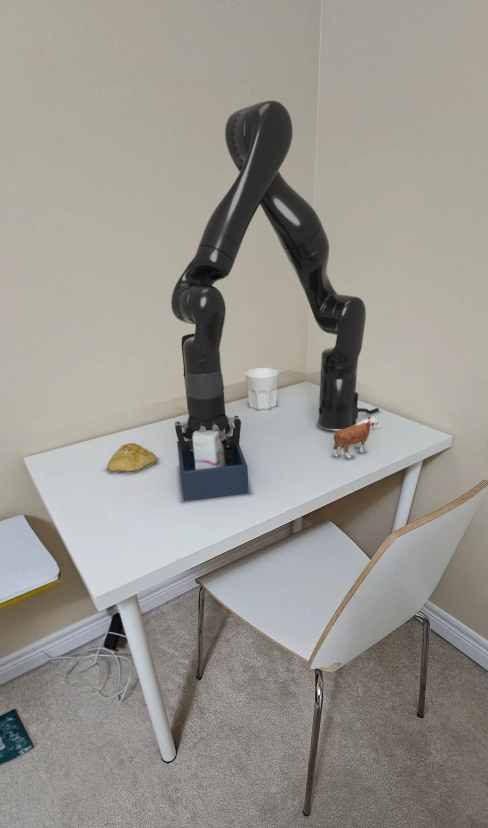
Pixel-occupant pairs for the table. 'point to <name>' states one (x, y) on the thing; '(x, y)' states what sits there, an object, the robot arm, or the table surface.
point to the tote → (213, 477)
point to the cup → (262, 387)
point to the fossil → (131, 459)
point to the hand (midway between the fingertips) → (211, 464)
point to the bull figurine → (354, 435)
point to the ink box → (208, 450)
